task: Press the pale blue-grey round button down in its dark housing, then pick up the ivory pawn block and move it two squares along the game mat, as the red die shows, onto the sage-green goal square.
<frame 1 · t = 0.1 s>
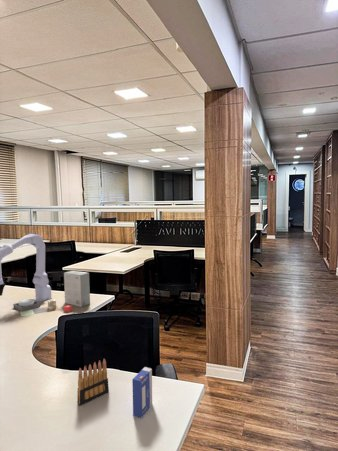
dome button: (26, 303, 198), point 3 cm above the table, slide at 0.0 cm
ammunition clip: (93, 398, 107), on the table
button housing: (26, 307, 198), on the table
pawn: (52, 308, 195), resting on game mat
red die: (68, 311, 190), on the table
game mat: (39, 310, 192), on the table
hard drive box: (77, 303, 205), on the table
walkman: (142, 410, 101), on the table
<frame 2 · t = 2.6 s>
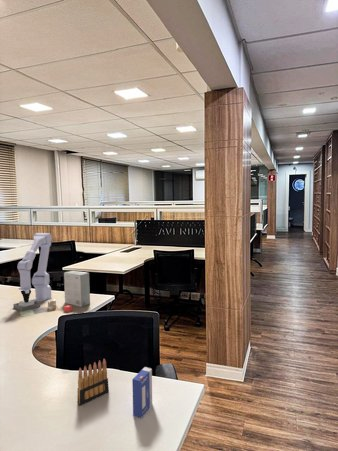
hand: (26, 302, 198), 3 cm above the table, tool pointing down, fingers closed, pressing on dome button
dome button: (26, 304, 198), point 2 cm above the table, slide at 0.6 cm, touching gripper
everything else where it was.
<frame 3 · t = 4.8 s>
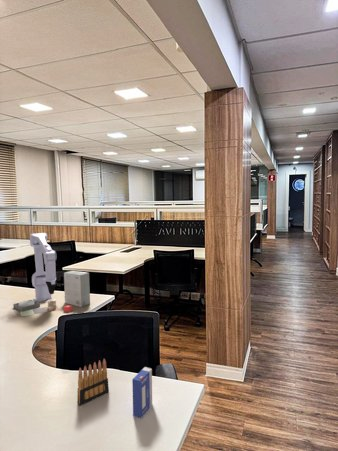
hand: (51, 293, 194), 9 cm above the table, tool pointing down, fingers closed
dome button: (26, 304, 198), point 2 cm above the table, slide at 0.9 cm
everything else where it was.
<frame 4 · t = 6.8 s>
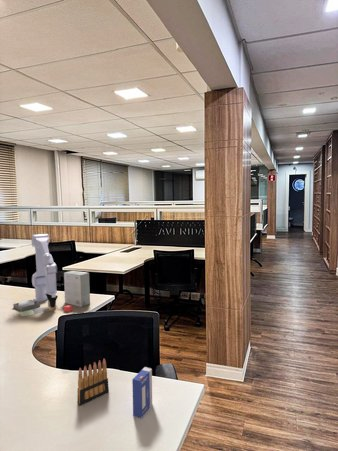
hand: (52, 306, 195), 2 cm above the table, tool pointing down, fingers closed on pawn, 4 cm apart
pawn: (52, 308, 195), resting on game mat, touching gripper
everything else where it was.
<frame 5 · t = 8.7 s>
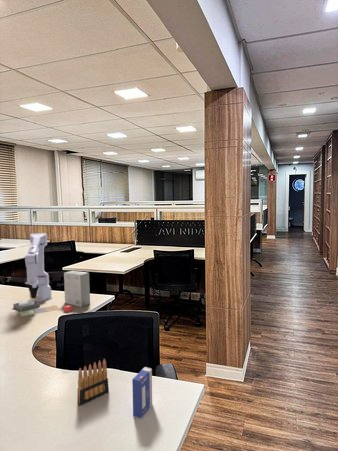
hand: (33, 297, 189), 9 cm above the table, tool pointing down, fingers closed on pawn, 4 cm apart
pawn: (33, 299, 190), point 7 cm above the table, touching gripper
everything else where it was.
when the fingers open (3 cm above the table, at t = 10.9 s): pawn stays where it is, resting on game mat.
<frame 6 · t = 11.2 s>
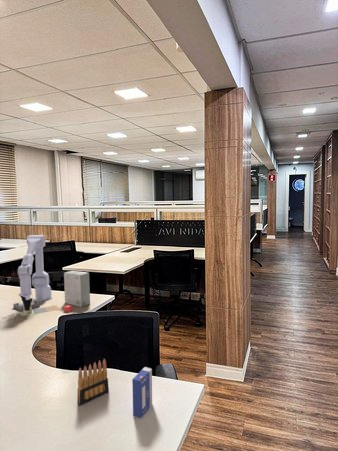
hand: (26, 308, 188), 3 cm above the table, tool pointing down, fingers open, 6 cm apart
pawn: (27, 312, 188), resting on game mat
everything else where it was.
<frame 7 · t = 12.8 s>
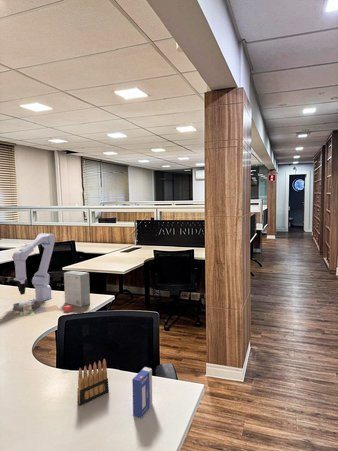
hand: (21, 292, 197), 9 cm above the table, tool pointing down, fingers open, 7 cm apart
nothing on the table moved.
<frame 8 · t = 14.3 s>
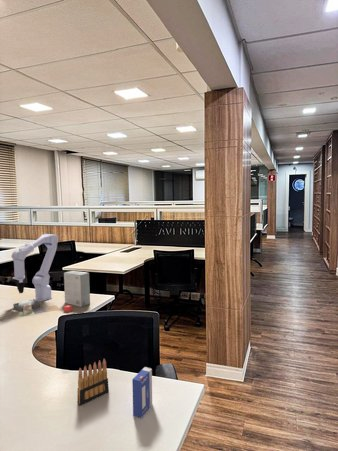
hand: (20, 291, 199), 9 cm above the table, tool pointing down, fingers open, 7 cm apart
nothing on the table moved.
at the end: dome button slide at 0.9 cm; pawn 0.3 cm from the target spot on the game mat, point 0.2 cm above the game mat's base; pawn tilted 0° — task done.
